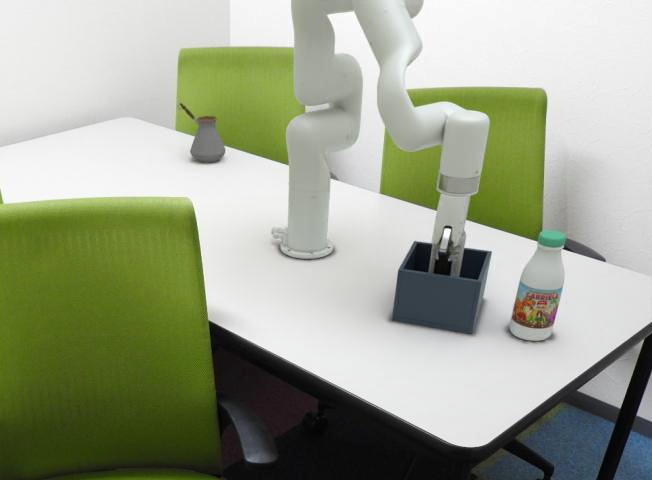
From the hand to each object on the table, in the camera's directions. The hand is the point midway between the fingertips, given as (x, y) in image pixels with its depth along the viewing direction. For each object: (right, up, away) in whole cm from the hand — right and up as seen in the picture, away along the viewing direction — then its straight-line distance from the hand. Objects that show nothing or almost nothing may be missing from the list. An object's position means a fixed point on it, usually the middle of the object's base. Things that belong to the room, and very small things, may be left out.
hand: (444, 271), depth 150 cm
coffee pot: (-51, +55, +98) cm, 124 cm away
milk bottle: (+16, -13, -3) cm, 20 cm away
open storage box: (0, -7, +5) cm, 9 cm away
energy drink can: (0, -5, +3) cm, 6 cm away
